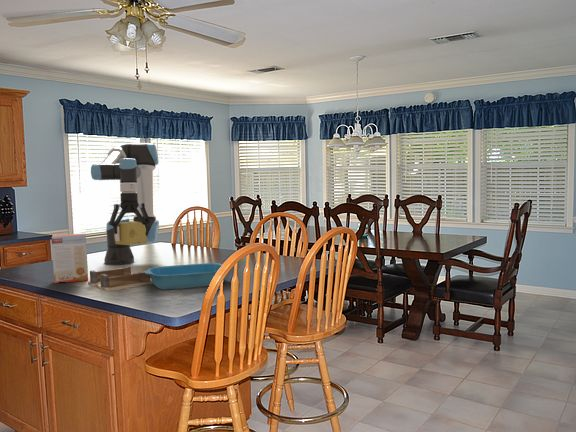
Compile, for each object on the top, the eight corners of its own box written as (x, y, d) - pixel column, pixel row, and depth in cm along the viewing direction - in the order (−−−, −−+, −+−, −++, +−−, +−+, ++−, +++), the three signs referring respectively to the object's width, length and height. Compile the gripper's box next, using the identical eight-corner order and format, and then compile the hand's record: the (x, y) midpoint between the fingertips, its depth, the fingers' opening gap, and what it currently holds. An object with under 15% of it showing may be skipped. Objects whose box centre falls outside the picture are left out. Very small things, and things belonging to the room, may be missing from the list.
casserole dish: (223, 275, 240) (223, 260, 239) (238, 285, 220) (237, 268, 219) (141, 283, 226) (141, 267, 225) (149, 294, 205) (148, 276, 205)
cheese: (147, 243, 239) (146, 221, 238) (128, 245, 230) (127, 223, 229) (133, 242, 245) (132, 221, 244) (113, 244, 236) (112, 222, 236)
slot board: (87, 283, 225) (87, 270, 224) (146, 274, 244) (146, 261, 243) (107, 291, 210) (106, 276, 210) (168, 280, 229) (168, 267, 229)
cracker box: (88, 278, 236) (86, 233, 234) (88, 281, 230) (85, 234, 229) (54, 281, 231) (52, 234, 229) (53, 283, 226) (51, 236, 224)
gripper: (106, 193, 225) (108, 242, 227) (156, 191, 241) (158, 238, 242) (99, 193, 231) (101, 241, 232) (149, 191, 247) (150, 237, 248)
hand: (130, 239), depth 237 cm, fingers closed on cheese, 12 cm apart
